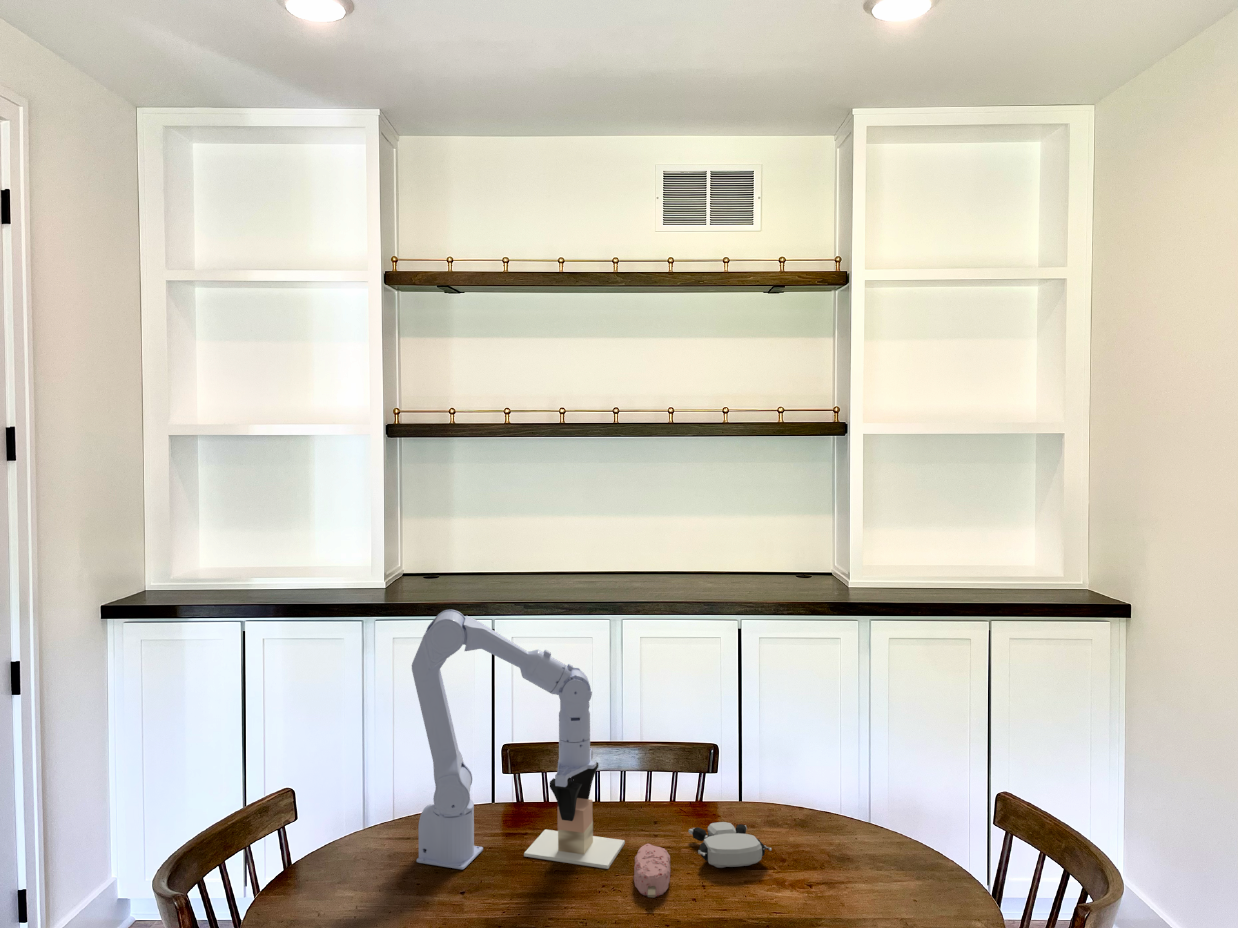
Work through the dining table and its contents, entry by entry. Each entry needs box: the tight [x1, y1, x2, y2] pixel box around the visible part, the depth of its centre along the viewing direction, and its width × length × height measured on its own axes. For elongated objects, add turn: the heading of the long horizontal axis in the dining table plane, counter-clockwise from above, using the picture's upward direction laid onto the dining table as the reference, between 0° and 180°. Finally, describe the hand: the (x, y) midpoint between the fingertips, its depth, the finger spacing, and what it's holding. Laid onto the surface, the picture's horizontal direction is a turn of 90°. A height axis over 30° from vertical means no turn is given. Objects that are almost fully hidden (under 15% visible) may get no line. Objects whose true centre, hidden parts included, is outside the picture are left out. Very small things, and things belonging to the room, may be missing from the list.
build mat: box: [523, 829, 626, 870], centre depth 157 cm, size 16×10×1 cm, turn 73°
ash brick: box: [557, 820, 594, 854], centre depth 157 cm, size 5×5×4 cm
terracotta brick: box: [557, 798, 594, 833], centre depth 156 cm, size 5×5×4 cm
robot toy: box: [688, 821, 772, 869], centre depth 154 cm, size 12×4×15 cm
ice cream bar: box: [633, 843, 672, 898], centre depth 144 cm, size 6×4×15 cm
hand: (574, 810), depth 157 cm, fingers open, 7 cm apart
